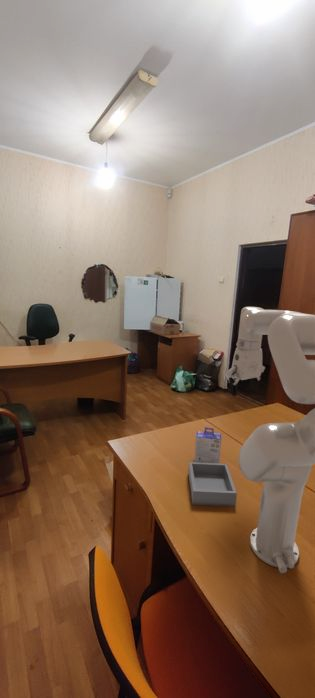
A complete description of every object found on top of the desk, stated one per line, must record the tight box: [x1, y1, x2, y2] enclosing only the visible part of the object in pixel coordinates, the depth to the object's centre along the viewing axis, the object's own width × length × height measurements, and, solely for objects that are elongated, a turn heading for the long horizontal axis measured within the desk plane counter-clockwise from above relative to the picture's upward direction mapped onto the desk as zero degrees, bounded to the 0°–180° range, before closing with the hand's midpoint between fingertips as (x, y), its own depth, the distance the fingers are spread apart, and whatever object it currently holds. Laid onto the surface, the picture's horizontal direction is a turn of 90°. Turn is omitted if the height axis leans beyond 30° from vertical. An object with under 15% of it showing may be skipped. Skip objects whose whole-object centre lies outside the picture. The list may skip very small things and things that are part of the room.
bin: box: [187, 461, 238, 508], centre depth 105 cm, size 16×14×5 cm
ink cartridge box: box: [193, 426, 222, 463], centre depth 119 cm, size 10×6×14 cm, turn 78°
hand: (243, 392), depth 104 cm, fingers open, 9 cm apart
